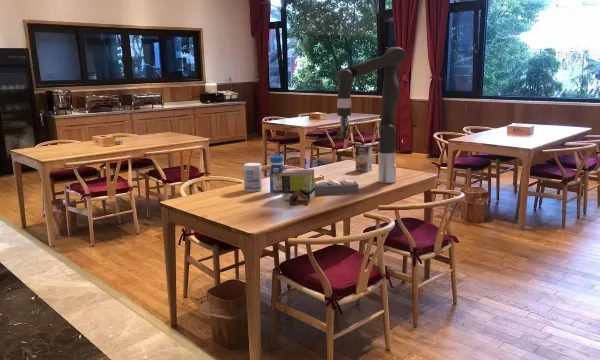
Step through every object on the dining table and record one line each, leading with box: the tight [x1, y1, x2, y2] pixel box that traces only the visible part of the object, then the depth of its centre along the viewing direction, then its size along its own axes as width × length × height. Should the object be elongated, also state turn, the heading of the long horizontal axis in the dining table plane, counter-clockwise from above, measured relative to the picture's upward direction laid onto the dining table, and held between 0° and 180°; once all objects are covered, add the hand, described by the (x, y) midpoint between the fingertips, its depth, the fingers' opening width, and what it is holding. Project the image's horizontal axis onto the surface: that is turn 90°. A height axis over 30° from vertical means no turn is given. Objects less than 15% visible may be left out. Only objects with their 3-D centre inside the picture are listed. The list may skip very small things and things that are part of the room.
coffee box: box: [355, 144, 373, 173], centre depth 319 cm, size 9×6×16 cm
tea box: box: [281, 168, 316, 202], centre depth 257 cm, size 15×10×15 cm, turn 74°
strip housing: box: [315, 180, 360, 196], centre depth 269 cm, size 25×9×4 cm, turn 96°
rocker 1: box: [314, 179, 326, 186], centre depth 268 cm, size 6×4×2 cm
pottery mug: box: [289, 189, 311, 206], centre depth 246 cm, size 12×10×8 cm
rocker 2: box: [327, 178, 341, 185], centre depth 268 cm, size 6×4×2 cm
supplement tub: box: [243, 162, 263, 193], centre depth 275 cm, size 10×10×15 cm
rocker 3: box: [341, 178, 355, 185], centre depth 269 cm, size 6×4×2 cm
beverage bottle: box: [268, 154, 286, 195], centre depth 268 cm, size 8×8×20 cm
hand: (344, 138), depth 276 cm, fingers closed
